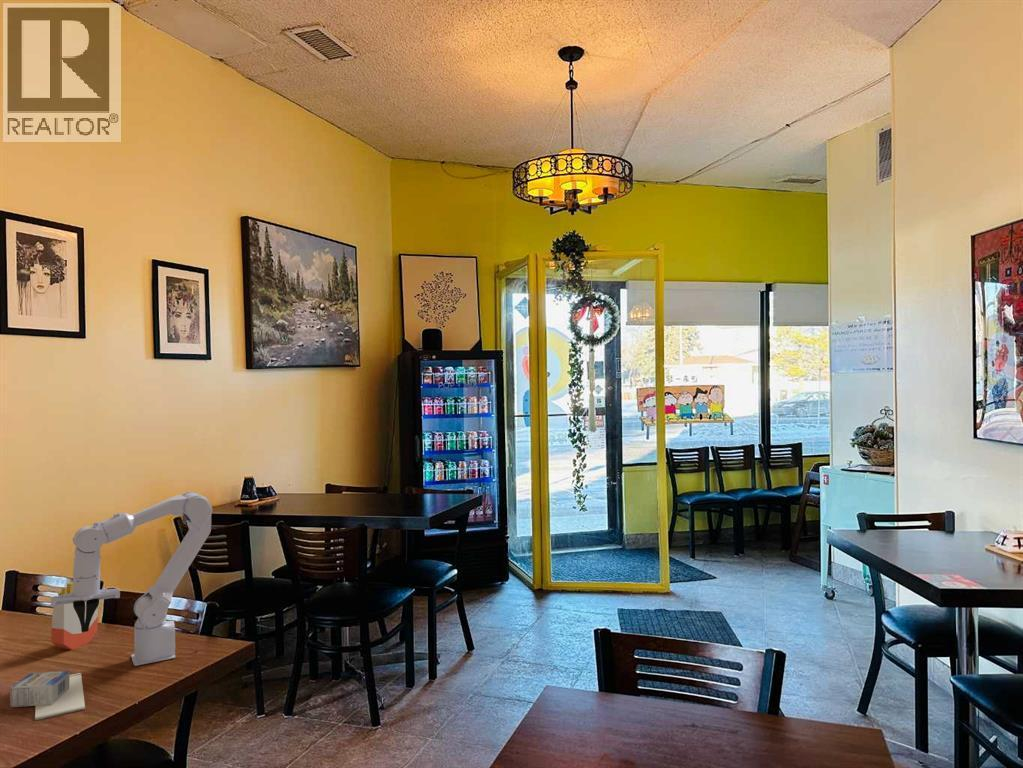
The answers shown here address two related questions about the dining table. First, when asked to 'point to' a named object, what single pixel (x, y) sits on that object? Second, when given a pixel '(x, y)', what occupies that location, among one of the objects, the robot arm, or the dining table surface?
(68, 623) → the french fries container
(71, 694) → the cream flat slab
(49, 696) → the medicine box
